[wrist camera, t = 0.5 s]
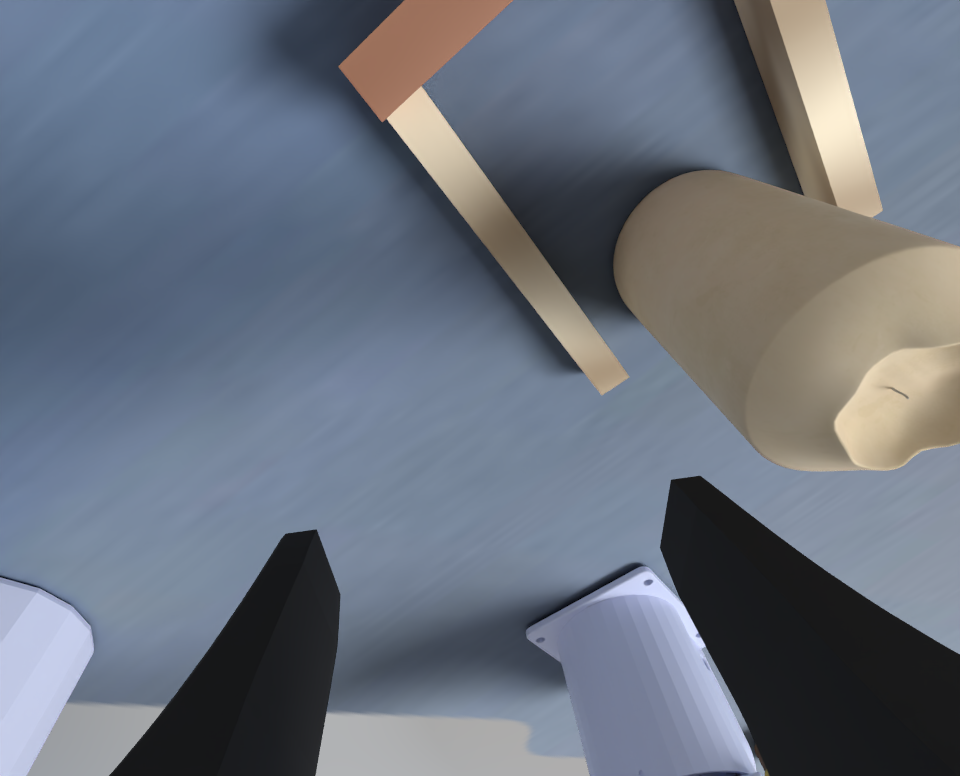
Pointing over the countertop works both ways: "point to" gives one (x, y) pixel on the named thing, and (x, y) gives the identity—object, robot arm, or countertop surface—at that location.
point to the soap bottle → (35, 669)
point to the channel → (404, 103)
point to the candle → (799, 319)
